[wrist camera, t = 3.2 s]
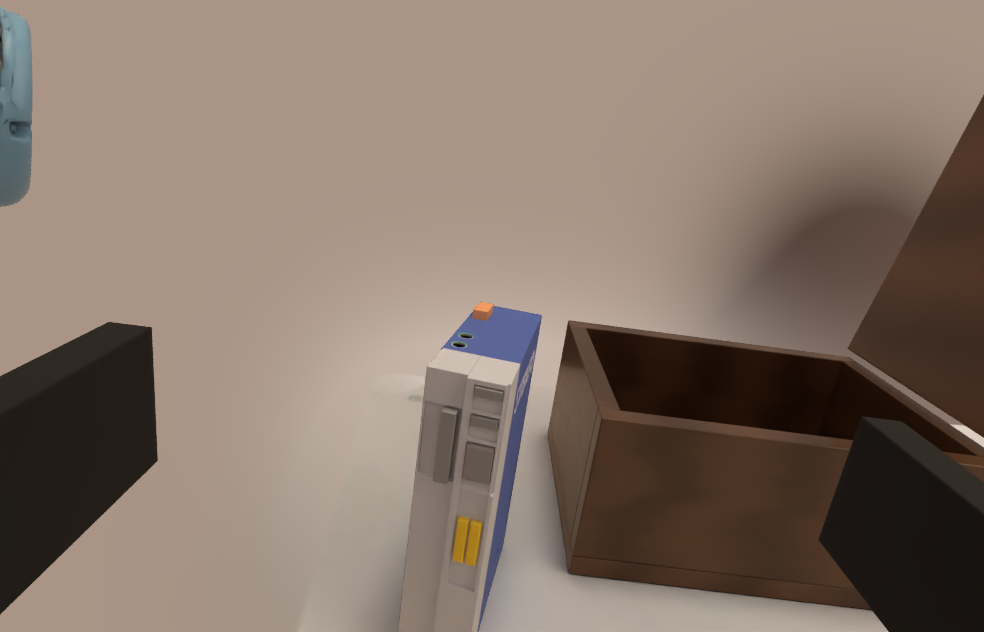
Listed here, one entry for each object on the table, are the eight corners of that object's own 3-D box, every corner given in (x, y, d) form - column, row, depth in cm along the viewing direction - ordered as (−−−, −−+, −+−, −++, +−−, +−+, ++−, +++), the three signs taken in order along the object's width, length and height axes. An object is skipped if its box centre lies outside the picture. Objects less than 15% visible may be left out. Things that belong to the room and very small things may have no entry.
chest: (568, 573, 27) (601, 417, 25) (547, 433, 40) (568, 320, 37) (950, 619, 28) (1020, 471, 25) (812, 466, 40) (850, 357, 38)
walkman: (448, 529, 29) (479, 294, 25) (503, 543, 29) (543, 306, 25) (389, 662, 22) (422, 358, 18) (463, 683, 21) (512, 377, 18)
